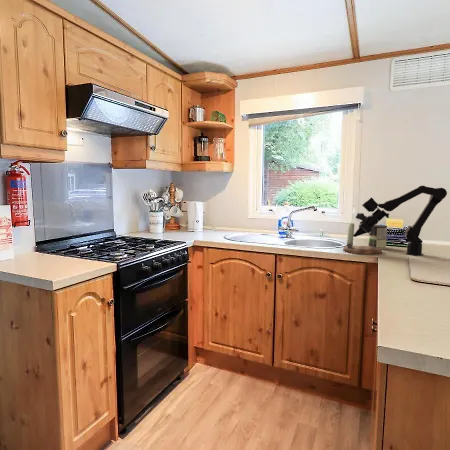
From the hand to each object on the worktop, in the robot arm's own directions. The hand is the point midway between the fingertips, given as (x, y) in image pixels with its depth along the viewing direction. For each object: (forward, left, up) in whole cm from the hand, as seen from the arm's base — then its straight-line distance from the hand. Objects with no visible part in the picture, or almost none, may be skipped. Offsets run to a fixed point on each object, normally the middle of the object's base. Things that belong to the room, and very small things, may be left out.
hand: (353, 236), depth 197 cm
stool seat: (-3, -4, -9) cm, 10 cm away
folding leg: (+1, +2, -6) cm, 7 cm away
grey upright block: (+4, -23, -9) cm, 25 cm away
